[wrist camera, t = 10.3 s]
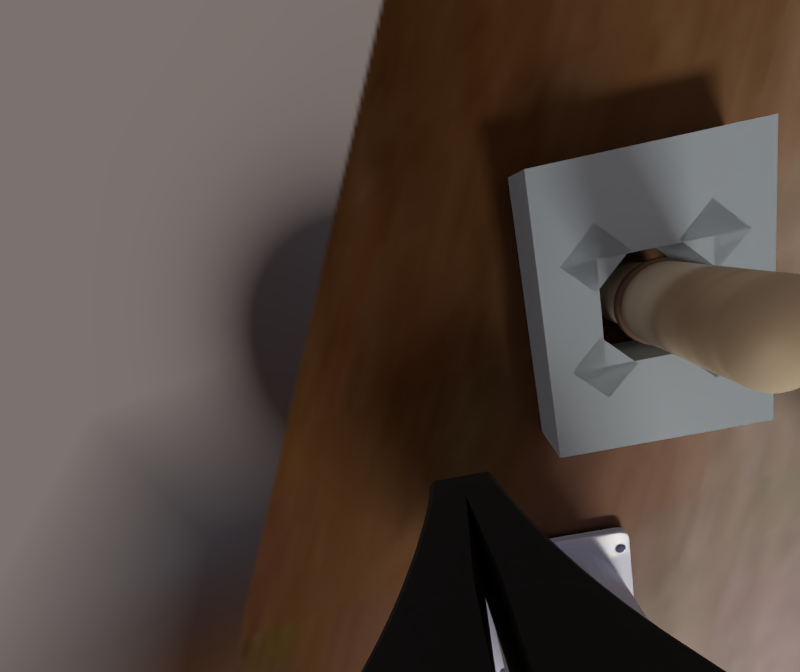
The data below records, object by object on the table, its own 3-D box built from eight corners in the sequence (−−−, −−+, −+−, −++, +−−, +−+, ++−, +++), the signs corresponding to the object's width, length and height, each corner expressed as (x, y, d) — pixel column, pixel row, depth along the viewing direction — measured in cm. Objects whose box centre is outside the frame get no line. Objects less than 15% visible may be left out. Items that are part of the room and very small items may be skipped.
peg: (664, 321, 19) (849, 384, 11) (590, 335, 19) (719, 406, 11) (661, 247, 18) (858, 258, 10) (583, 262, 18) (718, 285, 10)
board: (729, 397, 20) (772, 419, 17) (542, 431, 20) (560, 457, 18) (726, 129, 17) (778, 113, 14) (507, 177, 17) (524, 169, 15)
